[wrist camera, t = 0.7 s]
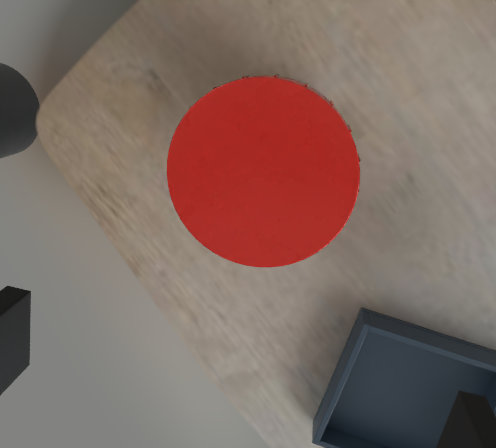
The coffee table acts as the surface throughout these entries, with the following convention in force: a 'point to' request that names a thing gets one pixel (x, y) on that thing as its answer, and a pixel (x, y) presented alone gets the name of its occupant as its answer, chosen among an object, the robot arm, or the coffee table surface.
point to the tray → (399, 385)
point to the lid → (263, 171)
